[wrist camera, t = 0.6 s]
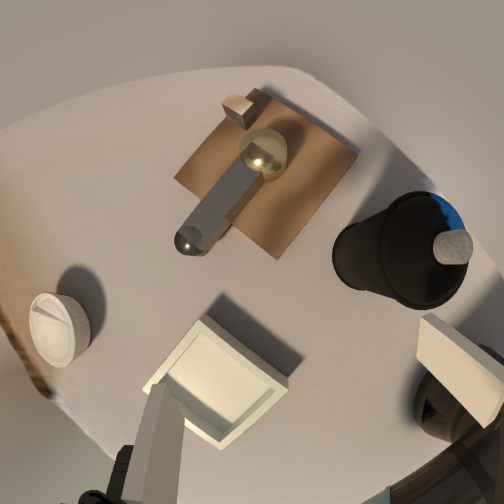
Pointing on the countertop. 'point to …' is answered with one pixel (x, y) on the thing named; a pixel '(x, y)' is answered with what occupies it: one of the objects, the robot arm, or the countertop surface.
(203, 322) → the tray
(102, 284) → the countertop surface
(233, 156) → the crank base
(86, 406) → the countertop surface
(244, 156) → the crank lever
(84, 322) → the ramekin
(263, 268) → the countertop surface
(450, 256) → the aerosol can
